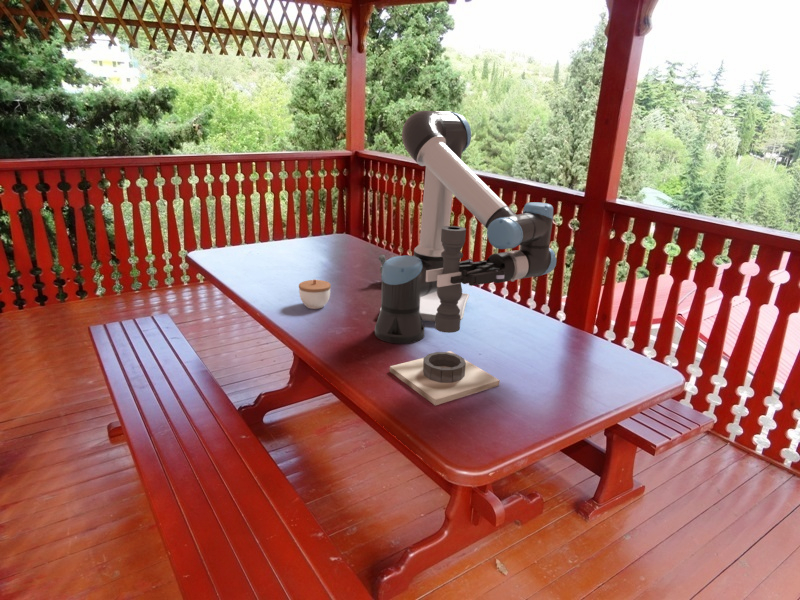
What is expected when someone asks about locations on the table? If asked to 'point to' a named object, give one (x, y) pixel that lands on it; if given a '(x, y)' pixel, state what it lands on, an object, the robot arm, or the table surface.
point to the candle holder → (450, 294)
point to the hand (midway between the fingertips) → (432, 278)
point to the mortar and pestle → (382, 262)
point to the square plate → (432, 303)
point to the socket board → (443, 388)
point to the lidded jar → (314, 293)
